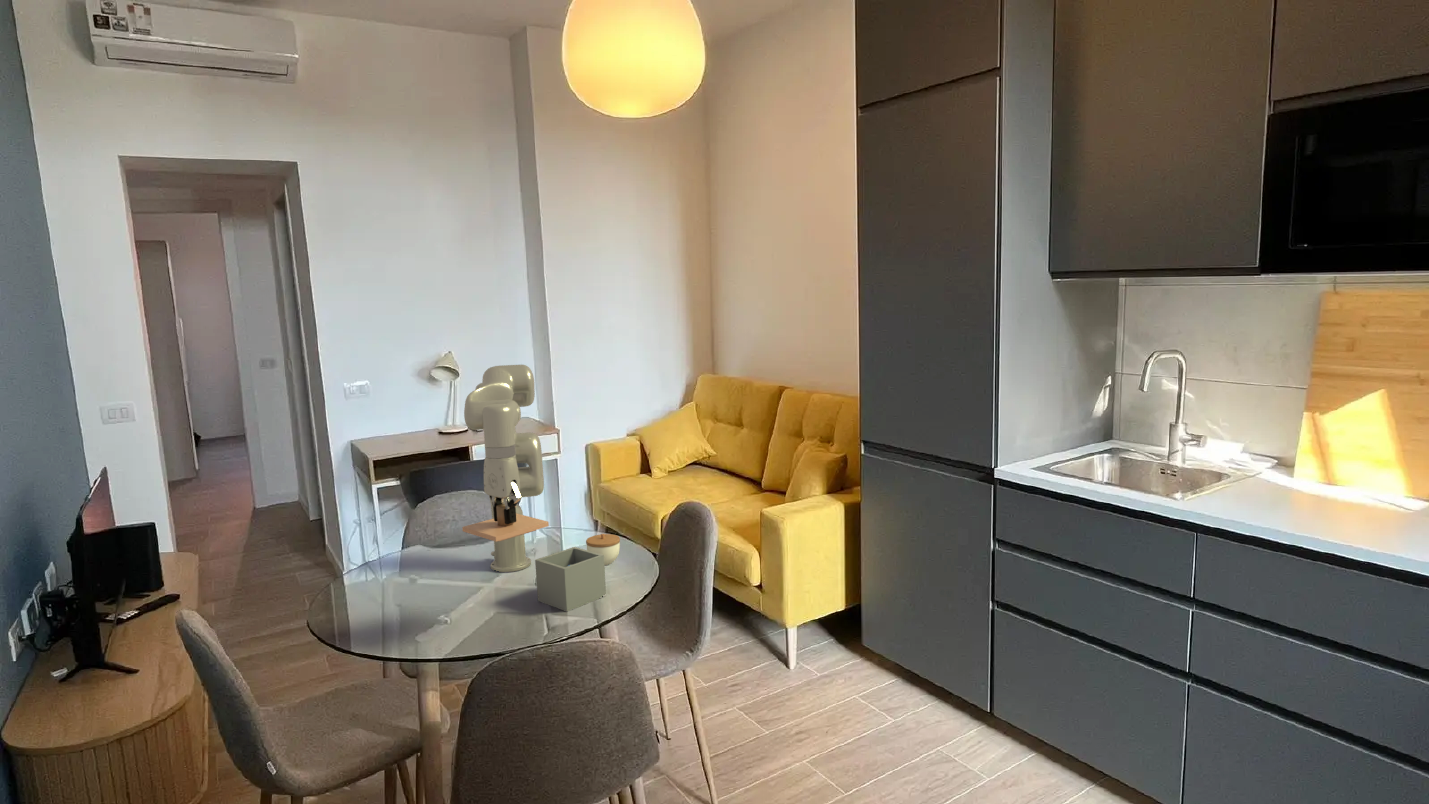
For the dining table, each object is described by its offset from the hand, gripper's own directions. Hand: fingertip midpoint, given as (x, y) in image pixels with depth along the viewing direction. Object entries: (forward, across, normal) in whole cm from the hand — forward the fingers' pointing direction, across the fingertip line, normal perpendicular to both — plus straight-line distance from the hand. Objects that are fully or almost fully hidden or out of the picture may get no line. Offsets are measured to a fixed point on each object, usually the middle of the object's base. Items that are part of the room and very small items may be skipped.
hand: (505, 520), depth 207 cm
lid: (+3, 0, 0) cm, 3 cm away
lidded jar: (+28, -16, +46) cm, 56 cm away
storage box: (+27, 0, +20) cm, 34 cm away
